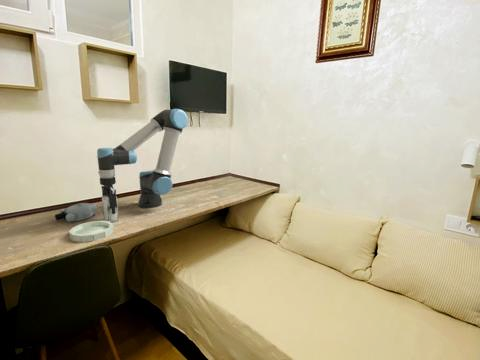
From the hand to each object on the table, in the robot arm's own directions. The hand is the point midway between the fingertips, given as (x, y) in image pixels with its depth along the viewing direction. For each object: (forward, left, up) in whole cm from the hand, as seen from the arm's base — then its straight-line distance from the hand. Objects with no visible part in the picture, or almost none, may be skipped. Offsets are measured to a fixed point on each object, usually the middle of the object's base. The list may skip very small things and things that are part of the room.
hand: (111, 217), depth 140 cm
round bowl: (+13, +11, -2) cm, 17 cm away
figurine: (+12, -17, -2) cm, 21 cm away
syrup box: (0, 0, -2) cm, 2 cm away
